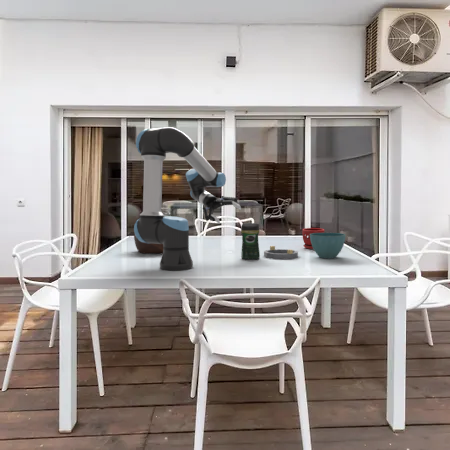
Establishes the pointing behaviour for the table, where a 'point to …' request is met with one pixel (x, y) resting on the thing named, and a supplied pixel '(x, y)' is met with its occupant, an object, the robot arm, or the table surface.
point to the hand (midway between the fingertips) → (229, 214)
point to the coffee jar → (250, 241)
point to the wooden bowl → (148, 247)
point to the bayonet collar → (280, 253)
